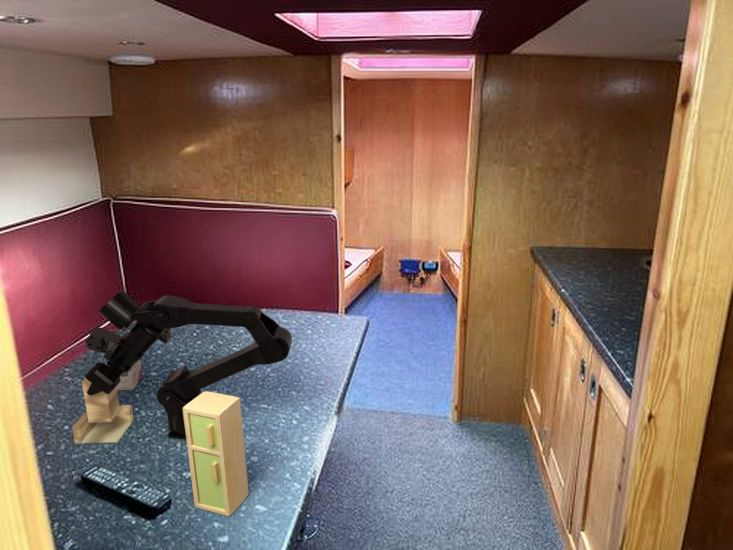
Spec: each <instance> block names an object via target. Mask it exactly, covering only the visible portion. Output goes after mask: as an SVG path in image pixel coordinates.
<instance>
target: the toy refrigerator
mask: <svg viewBox="0 0 733 550" xmlns="http://www.w3.org/2000/svg"><path fill="white" fill-rule="evenodd" d="M183 416H184V424H185V432H186V439H185V440H186V445H187V447H186V448H187V453H188V454H187V455H188V463H189V471H190V479H191V480H190V481H191V487H192V495H193V502H194V507H195V508H197V509H200V510H205V511H208V512H212V513H215V514H219V515H222V516H226V517H230V516H231V515H233V514H234V513H235V511H237V509H238V508H239V507H240V505H242V503H244V501H245V500H246V499H247V498H248V496H249V493H250V492H249V483H248V482H249V479H248V471H247V461H246V460H247V458H246V450H245V447H246V446H245V439H244V437H245V436H244V428H243V427H244V425H243V415H242V404H241V398H240V397H238V396H233V395H229V394H224V393H223V394H222V393H219V392H218V393H217V392H212V391H207V390H206V391H202V392H201V394H200V395H199V396H197V397H196V398H195V399H193V400H192V401H191V402H189V403H188V404H186V405H185V406H184V407H183Z"/></svg>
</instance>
